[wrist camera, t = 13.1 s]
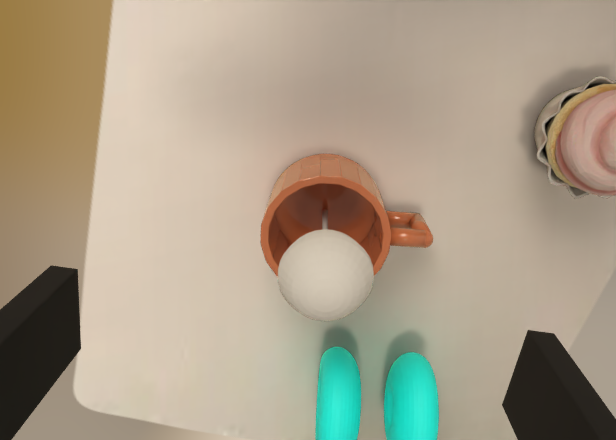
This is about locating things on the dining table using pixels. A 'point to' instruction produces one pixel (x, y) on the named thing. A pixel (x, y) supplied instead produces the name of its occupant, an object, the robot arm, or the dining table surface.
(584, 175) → the cupcake
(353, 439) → the donuts
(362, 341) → the dining table surface
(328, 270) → the lollipop
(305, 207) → the mug
